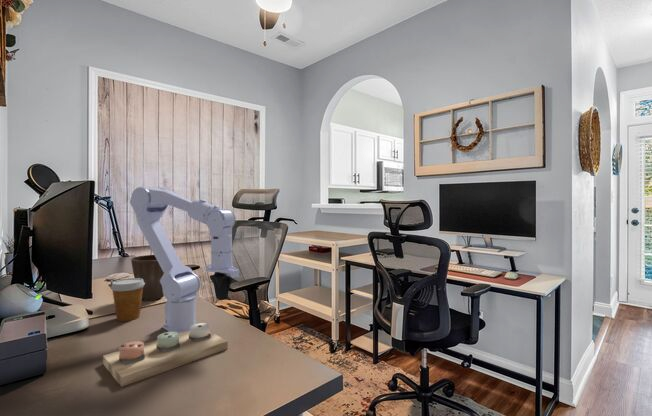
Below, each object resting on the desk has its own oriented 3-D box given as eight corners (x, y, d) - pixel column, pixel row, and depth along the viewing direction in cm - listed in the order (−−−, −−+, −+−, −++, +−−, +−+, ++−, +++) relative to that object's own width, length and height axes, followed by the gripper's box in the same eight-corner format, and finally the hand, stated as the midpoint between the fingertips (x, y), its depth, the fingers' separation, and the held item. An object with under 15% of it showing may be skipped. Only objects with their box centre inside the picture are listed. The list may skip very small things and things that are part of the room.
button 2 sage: (154, 343, 81) (154, 335, 81) (174, 337, 84) (174, 329, 84) (161, 349, 77) (161, 340, 77) (182, 343, 81) (182, 334, 81)
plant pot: (168, 290, 140) (168, 253, 140) (179, 298, 129) (178, 257, 129) (128, 297, 131) (127, 256, 131) (135, 306, 119) (135, 262, 119)
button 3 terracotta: (116, 354, 75) (116, 345, 75) (139, 347, 78) (139, 338, 78) (123, 361, 71) (123, 351, 71) (147, 354, 75) (147, 344, 75)
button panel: (102, 364, 77) (102, 351, 77) (201, 333, 94) (201, 323, 94) (121, 387, 67) (121, 372, 67) (227, 348, 85) (227, 337, 85)
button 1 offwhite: (186, 334, 86) (186, 326, 86) (204, 329, 90) (204, 321, 90) (195, 339, 83) (195, 330, 83) (212, 333, 87) (212, 325, 87)
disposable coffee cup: (138, 311, 114) (137, 276, 114) (150, 317, 108) (149, 280, 108) (106, 318, 107) (106, 281, 107) (117, 325, 101) (117, 286, 101)
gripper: (196, 251, 96) (197, 297, 96) (222, 256, 86) (223, 307, 86) (218, 248, 101) (219, 292, 101) (245, 252, 91) (246, 301, 92)
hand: (222, 299), depth 94 cm, fingers closed
